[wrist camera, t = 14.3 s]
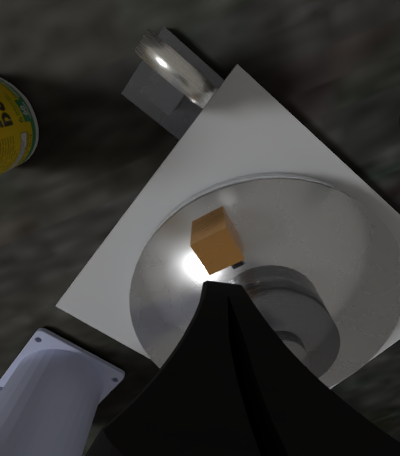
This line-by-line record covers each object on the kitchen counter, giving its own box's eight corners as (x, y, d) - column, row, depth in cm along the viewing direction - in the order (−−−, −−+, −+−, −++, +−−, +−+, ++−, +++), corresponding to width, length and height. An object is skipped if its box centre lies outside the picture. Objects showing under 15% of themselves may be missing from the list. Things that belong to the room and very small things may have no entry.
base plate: (272, 420, 29) (274, 428, 29) (60, 299, 24) (55, 306, 23) (466, 278, 23) (475, 284, 22) (235, 64, 17) (237, 64, 17)
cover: (333, 325, 22) (364, 382, 17) (242, 360, 23) (251, 420, 19) (296, 247, 19) (322, 293, 15) (197, 292, 20) (195, 344, 16)
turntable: (422, 336, 24) (467, 388, 20) (210, 413, 28) (211, 470, 24) (343, 113, 17) (386, 123, 13) (79, 255, 21) (51, 295, 17)
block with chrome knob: (180, 138, 19) (171, 163, 13) (123, 93, 18) (87, 98, 12) (223, 80, 18) (234, 79, 12) (165, 28, 17) (146, 0, 11)
